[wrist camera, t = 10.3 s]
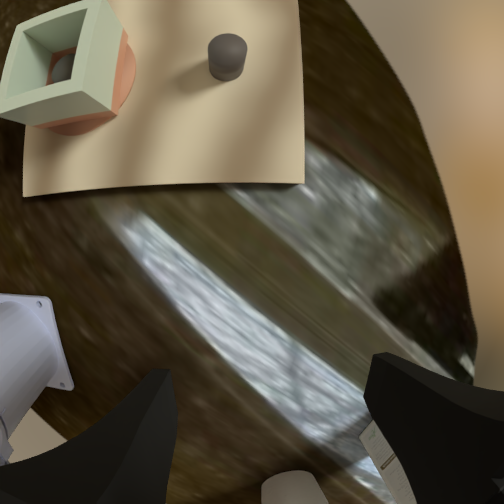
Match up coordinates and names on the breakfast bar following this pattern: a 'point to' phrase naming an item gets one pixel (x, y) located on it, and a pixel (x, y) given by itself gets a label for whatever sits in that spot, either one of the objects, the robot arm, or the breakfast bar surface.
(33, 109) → the sleeve
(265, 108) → the pin board
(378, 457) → the syrup box
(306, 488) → the dixie cup
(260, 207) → the breakfast bar surface
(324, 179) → the breakfast bar surface
